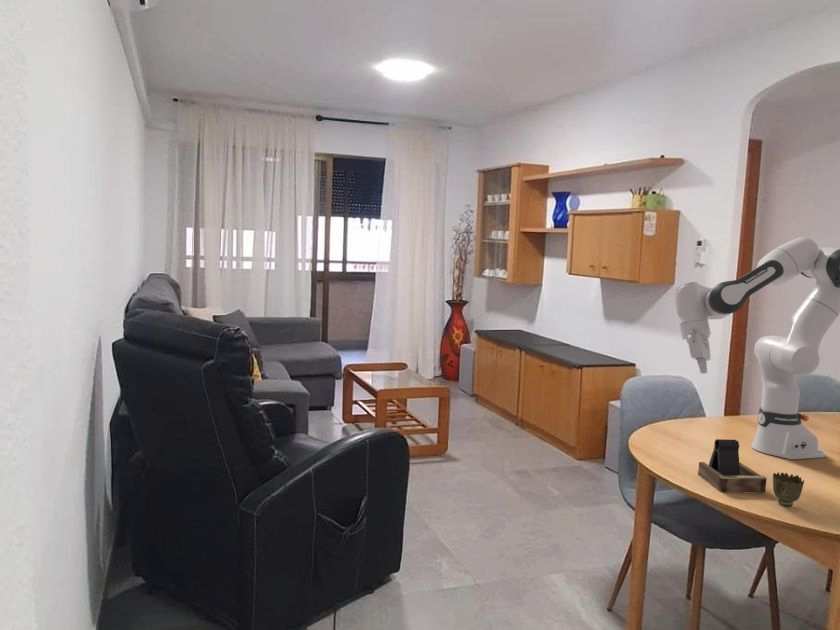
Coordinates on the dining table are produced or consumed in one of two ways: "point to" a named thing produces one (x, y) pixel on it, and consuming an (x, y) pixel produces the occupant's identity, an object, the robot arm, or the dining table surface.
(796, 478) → the cup
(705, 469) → the frame
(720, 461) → the phone stand
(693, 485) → the dining table surface
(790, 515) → the dining table surface
